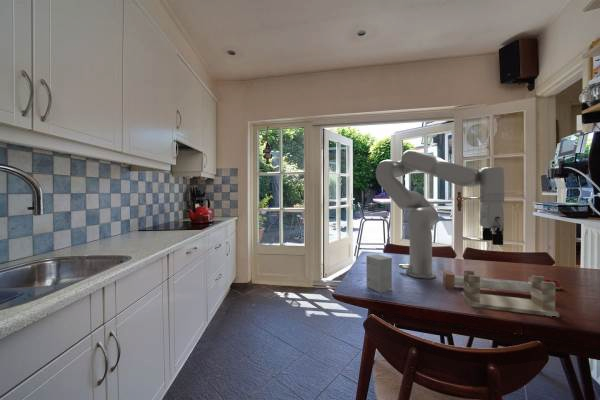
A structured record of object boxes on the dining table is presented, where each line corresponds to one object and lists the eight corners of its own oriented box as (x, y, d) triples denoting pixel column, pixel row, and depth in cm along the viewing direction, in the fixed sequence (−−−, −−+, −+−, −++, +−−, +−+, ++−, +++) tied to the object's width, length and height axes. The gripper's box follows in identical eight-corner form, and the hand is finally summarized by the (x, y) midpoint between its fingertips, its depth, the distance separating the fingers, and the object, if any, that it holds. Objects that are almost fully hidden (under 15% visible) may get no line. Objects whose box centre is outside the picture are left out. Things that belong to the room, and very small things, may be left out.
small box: (392, 290, 99) (392, 257, 99) (380, 293, 96) (380, 259, 96) (377, 283, 106) (377, 253, 106) (365, 286, 103) (365, 255, 103)
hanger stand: (469, 306, 85) (470, 277, 84) (461, 294, 94) (461, 268, 94) (559, 317, 77) (559, 285, 77) (540, 303, 86) (541, 275, 86)
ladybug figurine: (528, 281, 108) (528, 273, 108) (561, 287, 101) (561, 278, 101) (528, 286, 103) (528, 277, 103) (563, 292, 96) (563, 283, 96)
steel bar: (446, 288, 100) (446, 274, 100) (442, 283, 106) (443, 269, 106) (547, 299, 90) (547, 283, 89) (537, 293, 95) (538, 277, 95)
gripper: (473, 198, 106) (473, 238, 107) (489, 199, 90) (489, 246, 90) (494, 198, 104) (494, 239, 104) (514, 198, 88) (515, 247, 88)
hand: (492, 242), depth 97 cm, fingers open, 9 cm apart
